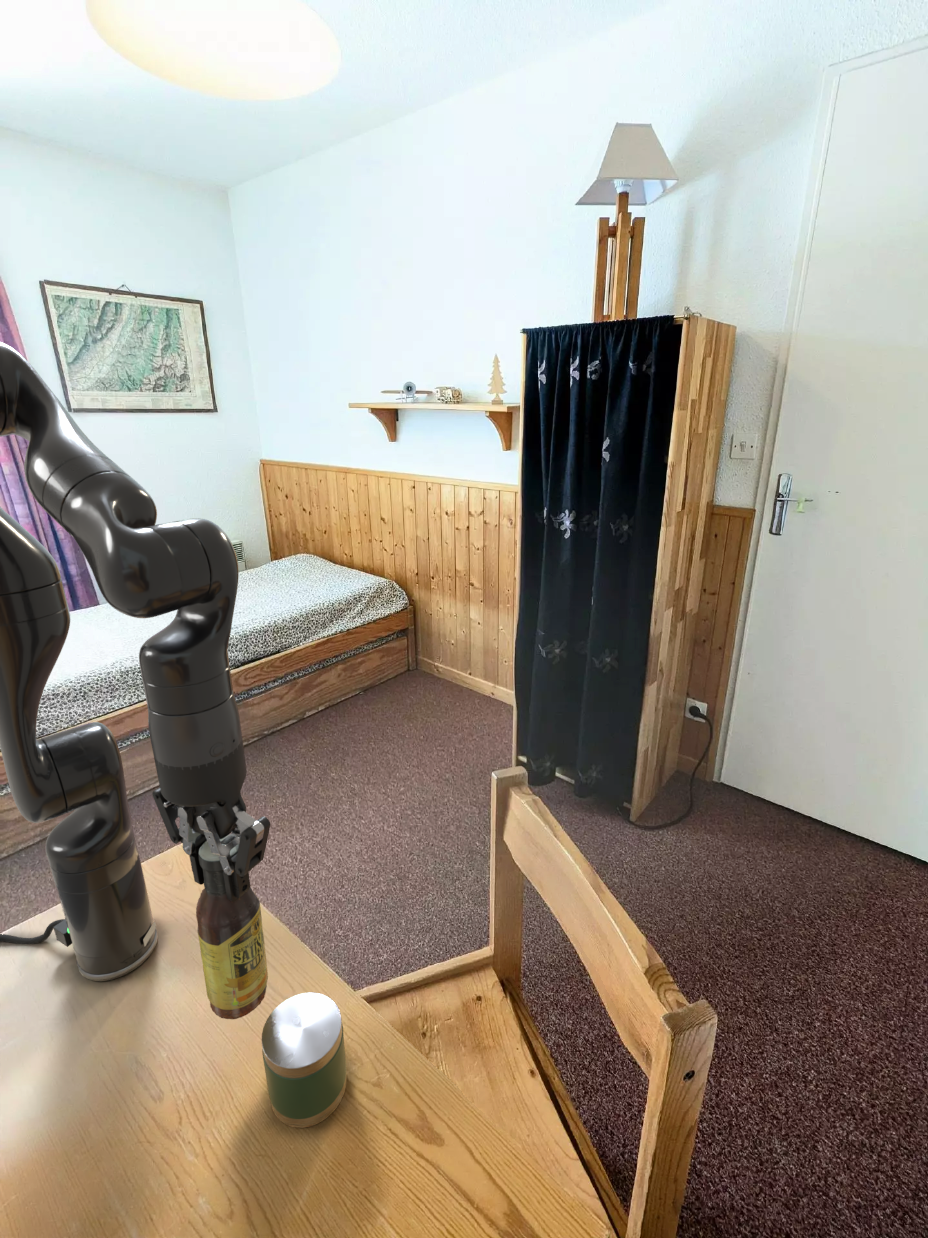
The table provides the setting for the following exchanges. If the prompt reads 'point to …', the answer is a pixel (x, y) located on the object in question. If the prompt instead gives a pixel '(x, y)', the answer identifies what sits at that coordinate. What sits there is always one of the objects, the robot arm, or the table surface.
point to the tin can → (304, 1059)
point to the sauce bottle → (230, 943)
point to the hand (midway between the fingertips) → (221, 886)
